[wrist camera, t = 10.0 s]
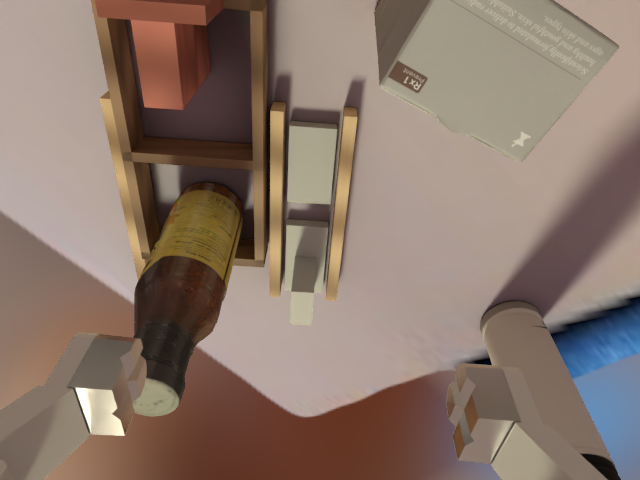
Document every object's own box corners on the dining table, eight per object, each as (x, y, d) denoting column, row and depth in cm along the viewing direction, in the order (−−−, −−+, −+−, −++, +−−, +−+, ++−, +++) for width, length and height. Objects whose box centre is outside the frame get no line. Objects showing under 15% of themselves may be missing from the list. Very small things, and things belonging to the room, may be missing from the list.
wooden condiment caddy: (105, -26, 32) (47, -7, 26) (267, -13, 32) (250, 9, 26) (152, 239, 45) (121, 296, 39) (267, 247, 45) (256, 305, 39)
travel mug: (544, 295, 48) (649, 494, 32) (535, 339, 52) (625, 537, 36) (481, 299, 49) (554, 497, 33) (477, 342, 53) (540, 539, 37)
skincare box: (522, -21, 32) (648, 34, 19) (458, 75, 36) (528, 174, 23) (416, -89, 30) (478, -79, 17) (361, 20, 34) (377, 96, 21)
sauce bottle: (168, 181, 42) (64, 359, 26) (238, 175, 41) (175, 353, 25) (189, 241, 46) (109, 428, 29) (252, 236, 45) (207, 424, 29)
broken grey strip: (290, 121, 38) (283, 153, 33) (337, 124, 38) (337, 157, 33) (285, 283, 48) (279, 327, 44) (322, 286, 48) (320, 329, 44)
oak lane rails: (110, 89, 37) (99, 98, 35) (356, 107, 37) (357, 117, 36) (146, 274, 48) (139, 287, 47) (336, 287, 48) (336, 300, 47)
